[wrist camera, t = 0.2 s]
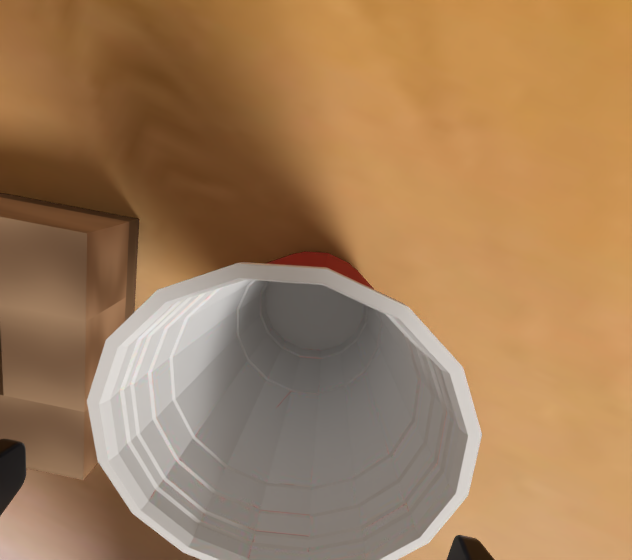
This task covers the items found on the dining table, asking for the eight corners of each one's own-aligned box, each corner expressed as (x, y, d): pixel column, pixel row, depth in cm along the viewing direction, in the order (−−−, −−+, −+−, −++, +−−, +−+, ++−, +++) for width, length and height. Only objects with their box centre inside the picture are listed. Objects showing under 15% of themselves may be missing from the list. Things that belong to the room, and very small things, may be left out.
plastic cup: (238, 403, 25) (137, 614, 13) (197, 221, 22) (26, 290, 10) (425, 387, 23) (494, 607, 12) (408, 192, 21) (477, 232, 9)
